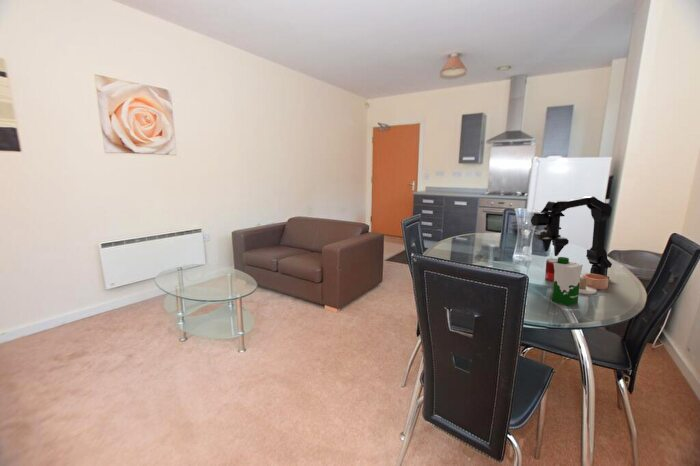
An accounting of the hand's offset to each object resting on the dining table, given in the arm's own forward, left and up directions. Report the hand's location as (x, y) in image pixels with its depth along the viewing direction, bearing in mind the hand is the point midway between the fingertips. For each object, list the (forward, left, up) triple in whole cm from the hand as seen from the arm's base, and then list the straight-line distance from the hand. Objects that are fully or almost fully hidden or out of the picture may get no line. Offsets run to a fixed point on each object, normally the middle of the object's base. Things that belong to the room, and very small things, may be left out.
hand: (550, 253), depth 164 cm
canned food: (-1, +2, -14) cm, 15 cm away
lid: (-5, +18, -14) cm, 23 cm away
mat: (-5, +18, -14) cm, 23 cm away
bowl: (-15, +12, -14) cm, 24 cm away
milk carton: (+11, +31, -14) cm, 36 cm away
